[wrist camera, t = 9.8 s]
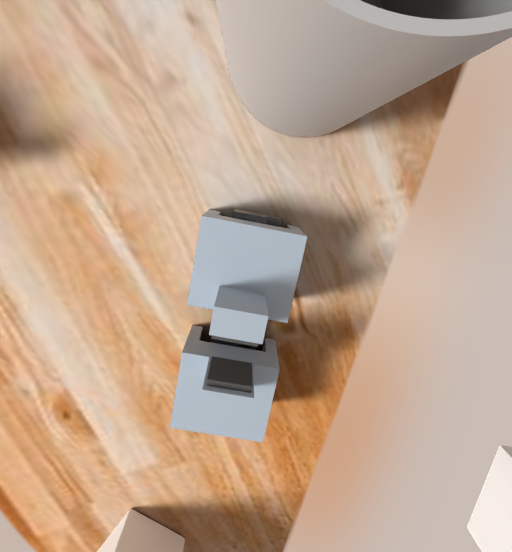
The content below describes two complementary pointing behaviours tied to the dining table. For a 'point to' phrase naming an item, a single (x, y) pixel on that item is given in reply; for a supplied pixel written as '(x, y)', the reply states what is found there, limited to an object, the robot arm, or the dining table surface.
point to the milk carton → (142, 536)
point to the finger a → (225, 388)
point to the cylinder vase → (347, 53)
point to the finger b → (245, 275)
